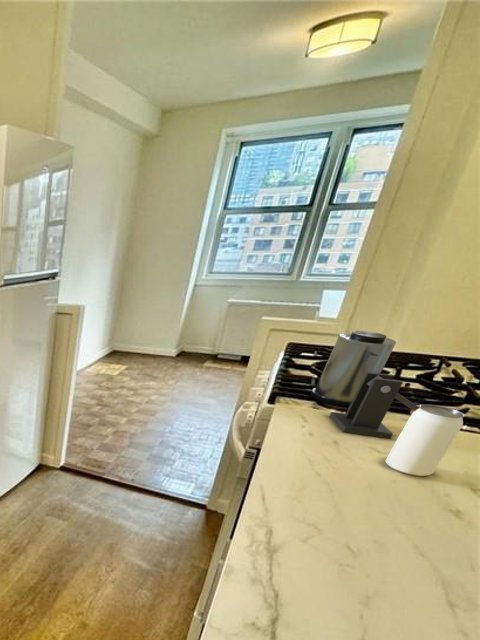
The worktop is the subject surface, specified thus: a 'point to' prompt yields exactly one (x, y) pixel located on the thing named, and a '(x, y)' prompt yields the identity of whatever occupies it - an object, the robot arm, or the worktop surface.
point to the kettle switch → (401, 399)
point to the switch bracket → (369, 406)
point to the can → (425, 440)
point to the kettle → (351, 366)
